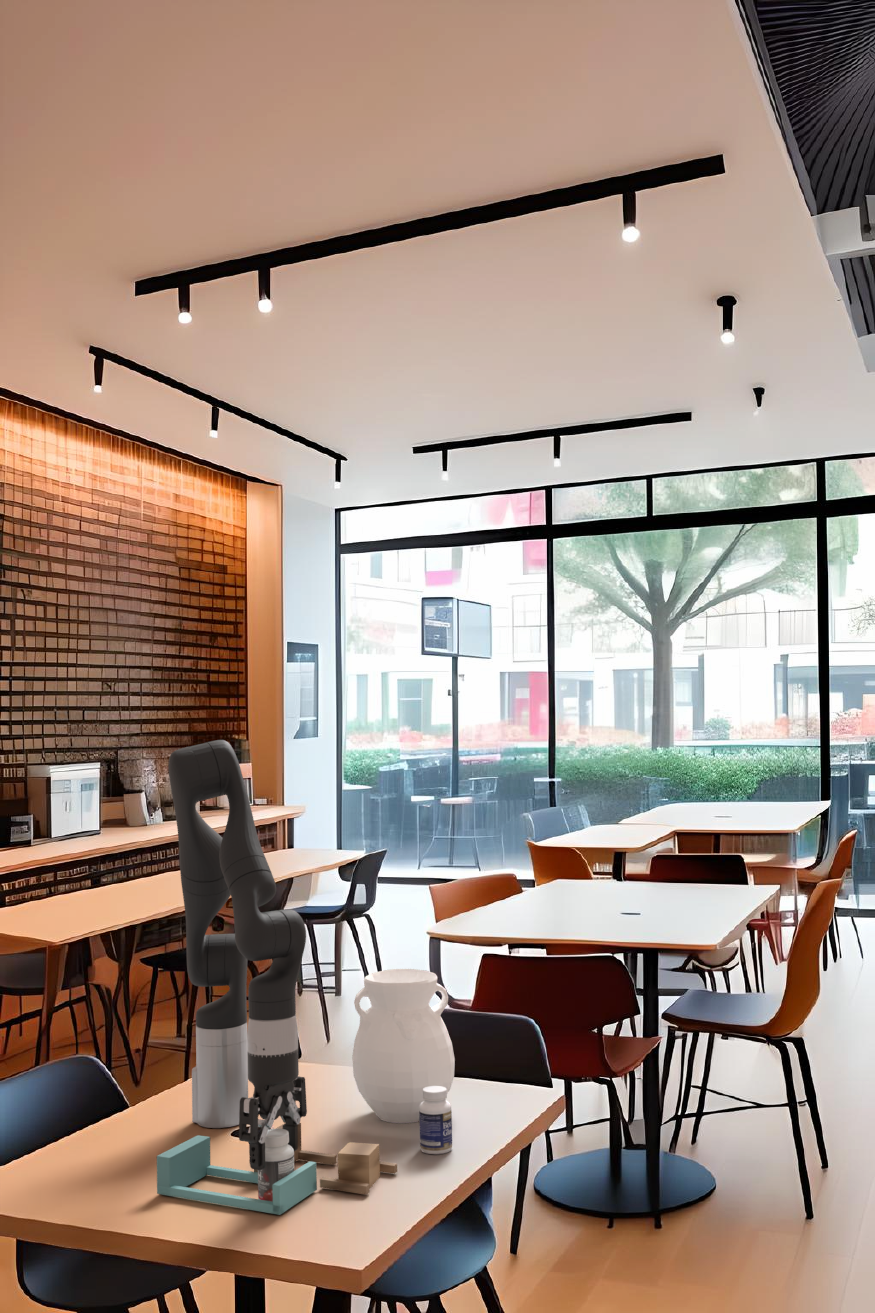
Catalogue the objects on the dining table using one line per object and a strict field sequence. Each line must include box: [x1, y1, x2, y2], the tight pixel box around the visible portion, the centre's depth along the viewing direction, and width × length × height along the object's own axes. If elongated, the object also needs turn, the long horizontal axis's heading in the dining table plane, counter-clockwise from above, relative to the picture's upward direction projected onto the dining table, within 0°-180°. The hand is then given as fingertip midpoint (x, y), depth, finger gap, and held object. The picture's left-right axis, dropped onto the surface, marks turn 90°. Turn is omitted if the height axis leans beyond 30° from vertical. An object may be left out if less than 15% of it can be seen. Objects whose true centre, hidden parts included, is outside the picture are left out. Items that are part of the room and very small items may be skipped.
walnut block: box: [337, 1142, 381, 1189], centre depth 175 cm, size 5×5×5 cm
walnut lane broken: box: [253, 1122, 398, 1195], centre depth 178 cm, size 20×10×6 cm, turn 65°
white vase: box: [351, 968, 456, 1124], centre depth 207 cm, size 19×18×25 cm
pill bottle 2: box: [418, 1086, 453, 1155], centre depth 188 cm, size 5×5×10 cm
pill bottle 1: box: [257, 1128, 295, 1202], centre depth 169 cm, size 5×5×10 cm
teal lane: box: [156, 1135, 318, 1216], centre depth 171 cm, size 22×10×6 cm, turn 65°
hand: (274, 1159), depth 168 cm, fingers open, 8 cm apart
